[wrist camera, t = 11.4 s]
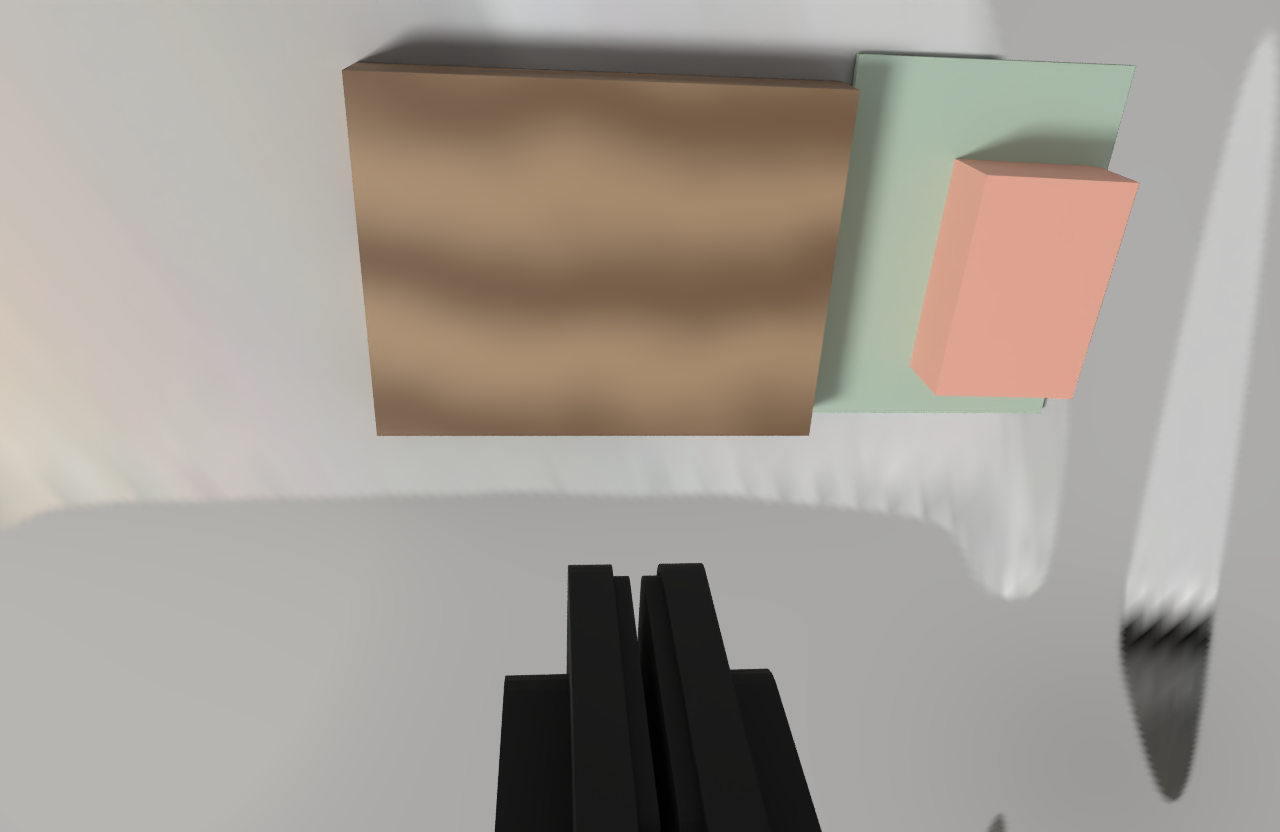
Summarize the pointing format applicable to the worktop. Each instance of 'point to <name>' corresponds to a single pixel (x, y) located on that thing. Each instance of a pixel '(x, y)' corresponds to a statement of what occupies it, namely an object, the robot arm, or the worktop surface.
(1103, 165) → the mat
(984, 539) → the worktop surface
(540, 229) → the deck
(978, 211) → the pink rectangular block
